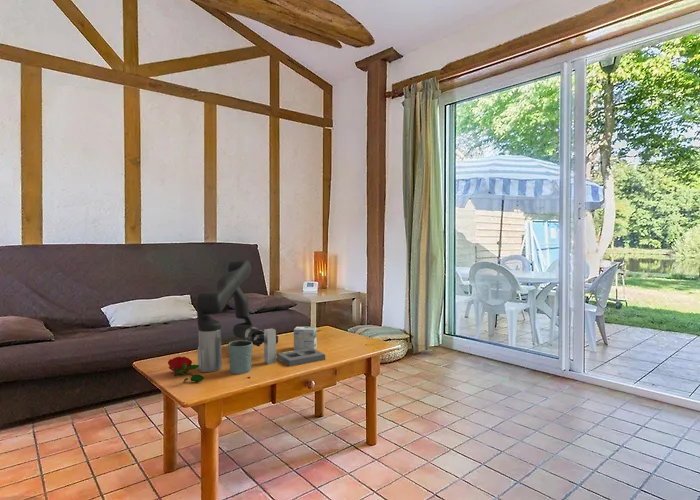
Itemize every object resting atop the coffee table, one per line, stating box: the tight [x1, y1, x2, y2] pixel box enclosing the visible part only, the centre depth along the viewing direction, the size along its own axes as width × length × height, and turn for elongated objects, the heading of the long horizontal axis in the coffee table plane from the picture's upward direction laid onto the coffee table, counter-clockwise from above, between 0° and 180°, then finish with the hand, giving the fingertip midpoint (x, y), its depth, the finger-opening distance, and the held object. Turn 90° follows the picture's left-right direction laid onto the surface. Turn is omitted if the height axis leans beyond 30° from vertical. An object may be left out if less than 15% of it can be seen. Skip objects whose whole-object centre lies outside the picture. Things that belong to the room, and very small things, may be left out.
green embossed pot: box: [227, 339, 253, 375], centre depth 181 cm, size 10×10×12 cm
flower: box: [167, 356, 206, 384], centre depth 171 cm, size 9×10×30 cm
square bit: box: [263, 328, 277, 365], centre depth 193 cm, size 4×4×15 cm
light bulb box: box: [293, 326, 318, 351], centre depth 216 cm, size 11×7×11 cm, turn 84°
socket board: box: [276, 348, 326, 367], centre depth 198 cm, size 18×14×3 cm
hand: (268, 342), depth 195 cm, fingers open, 8 cm apart
